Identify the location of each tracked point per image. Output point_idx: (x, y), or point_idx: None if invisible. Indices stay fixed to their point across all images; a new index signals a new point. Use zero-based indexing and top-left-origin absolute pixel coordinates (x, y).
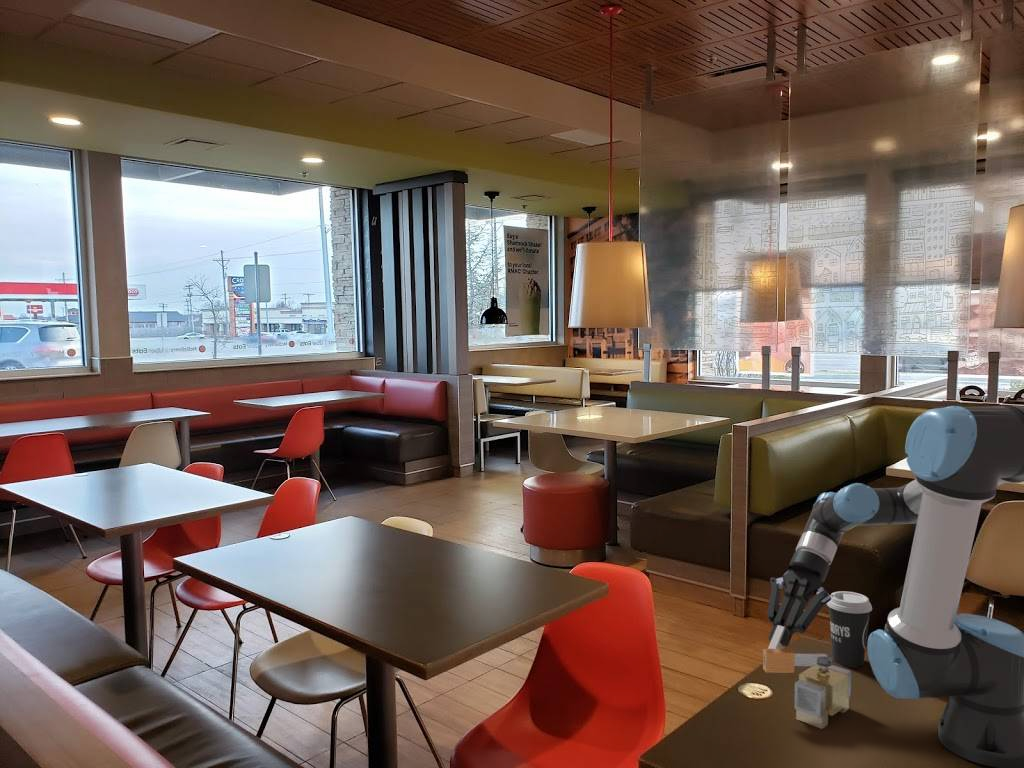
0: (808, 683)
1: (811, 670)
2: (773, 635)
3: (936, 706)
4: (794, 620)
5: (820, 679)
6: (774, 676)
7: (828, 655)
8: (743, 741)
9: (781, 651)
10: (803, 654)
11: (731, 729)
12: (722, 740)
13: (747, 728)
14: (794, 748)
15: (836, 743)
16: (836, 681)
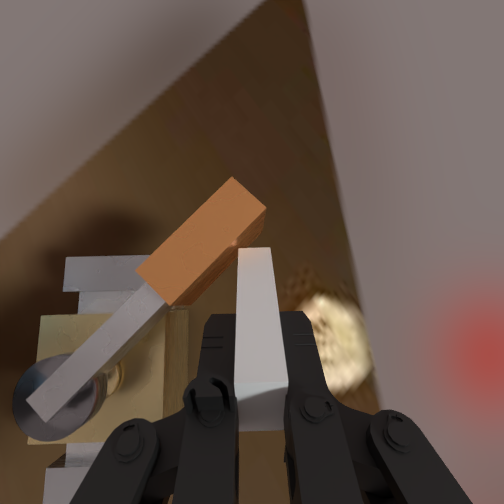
0: (119, 282)
1: (147, 377)
2: (278, 313)
3: None
4: (176, 494)
5: (92, 329)
6: None
7: (41, 436)
8: (216, 122)
9: (189, 241)
10: (124, 332)
11: (258, 143)
12: (246, 98)
13: (238, 169)
14: (132, 168)
15: (76, 247)
16: (42, 357)
